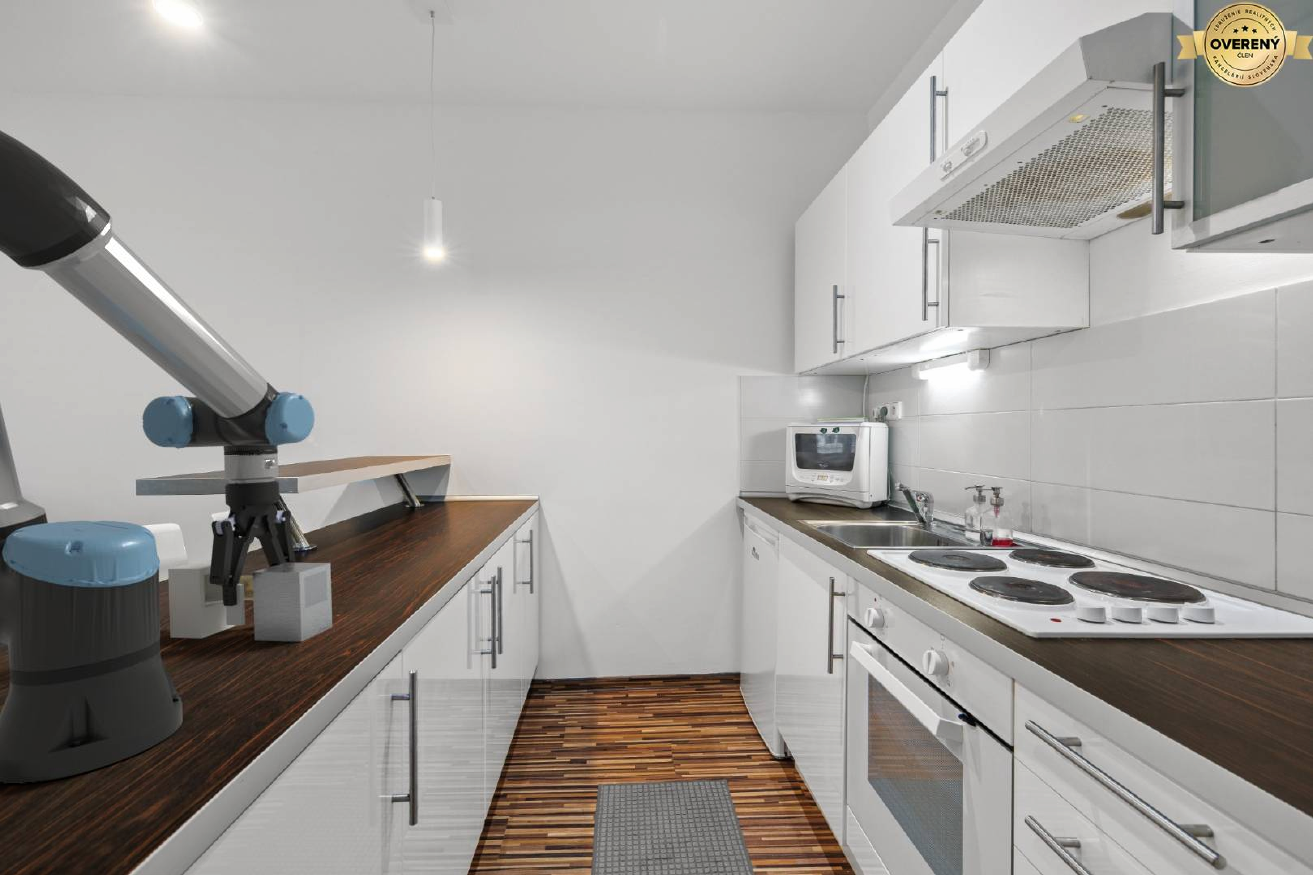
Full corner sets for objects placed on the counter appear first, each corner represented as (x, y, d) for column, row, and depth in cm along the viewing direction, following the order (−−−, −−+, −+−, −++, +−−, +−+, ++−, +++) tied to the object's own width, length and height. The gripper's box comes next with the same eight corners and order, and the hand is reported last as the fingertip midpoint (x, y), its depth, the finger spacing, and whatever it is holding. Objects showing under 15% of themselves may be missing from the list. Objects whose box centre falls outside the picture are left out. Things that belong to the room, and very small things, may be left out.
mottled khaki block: (317, 597, 101) (316, 573, 101) (299, 604, 97) (298, 579, 97) (244, 596, 103) (243, 572, 103) (224, 602, 99) (223, 578, 99)
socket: (238, 624, 105) (235, 560, 105) (201, 638, 98) (199, 569, 98) (208, 623, 106) (206, 559, 106) (170, 637, 99) (168, 568, 99)
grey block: (332, 627, 102) (330, 562, 102) (301, 641, 95) (299, 572, 95) (288, 626, 103) (286, 562, 103) (254, 640, 97) (252, 572, 97)
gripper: (217, 486, 90) (222, 638, 90) (316, 475, 110) (320, 600, 110) (174, 486, 91) (179, 636, 91) (280, 476, 111) (284, 599, 111)
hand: (256, 616), depth 100 cm, fingers open, 8 cm apart
